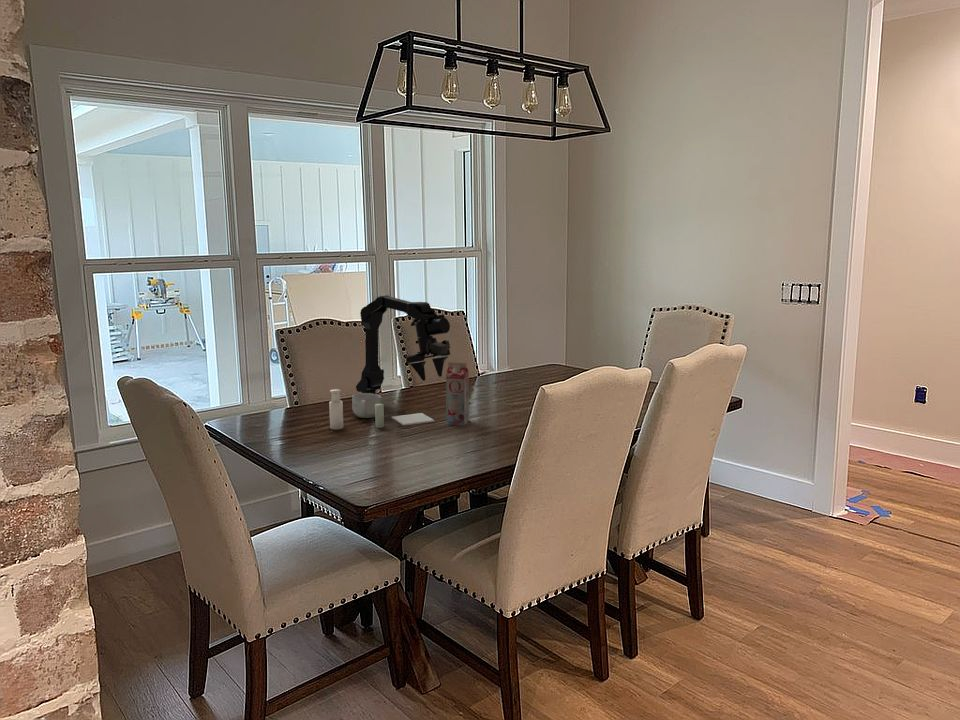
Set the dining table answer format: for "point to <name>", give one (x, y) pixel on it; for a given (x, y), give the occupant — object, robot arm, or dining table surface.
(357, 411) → the teacup
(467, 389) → the juice carton
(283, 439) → the dining table surface
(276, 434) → the dining table surface
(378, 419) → the post
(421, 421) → the mat
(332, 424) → the vase
